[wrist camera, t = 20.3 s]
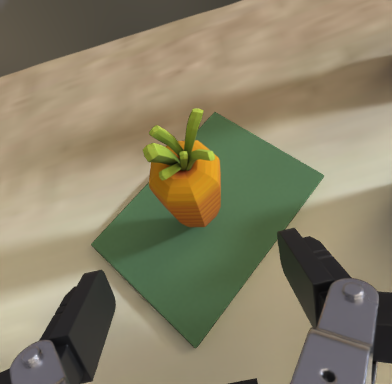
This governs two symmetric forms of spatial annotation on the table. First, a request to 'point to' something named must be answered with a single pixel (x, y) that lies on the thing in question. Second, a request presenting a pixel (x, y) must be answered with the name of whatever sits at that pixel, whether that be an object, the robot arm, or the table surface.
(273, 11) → the table surface
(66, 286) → the table surface
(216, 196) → the carrot
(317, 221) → the table surface
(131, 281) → the green mat
